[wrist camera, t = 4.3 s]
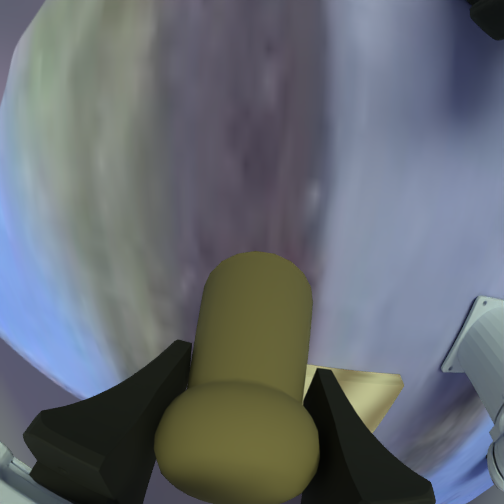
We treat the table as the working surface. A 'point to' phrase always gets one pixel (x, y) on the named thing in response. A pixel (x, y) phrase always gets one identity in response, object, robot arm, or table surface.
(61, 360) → the table surface
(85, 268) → the table surface
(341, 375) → the birch base board
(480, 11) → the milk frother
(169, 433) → the cork
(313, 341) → the table surface
